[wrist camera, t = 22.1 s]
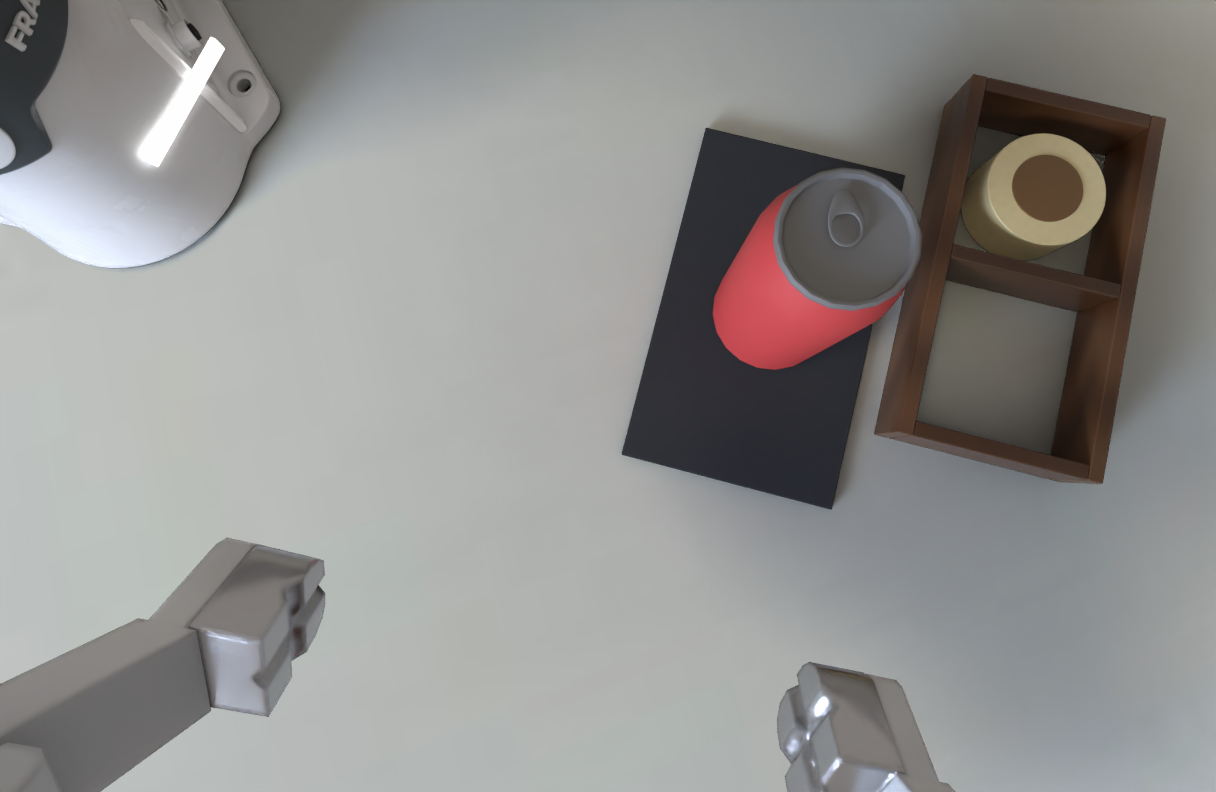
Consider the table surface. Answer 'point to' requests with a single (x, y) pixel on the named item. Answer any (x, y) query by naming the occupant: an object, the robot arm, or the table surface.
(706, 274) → the mat
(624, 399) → the table surface
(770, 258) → the beer can
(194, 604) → the robot arm
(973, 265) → the tray
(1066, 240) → the tape roll
